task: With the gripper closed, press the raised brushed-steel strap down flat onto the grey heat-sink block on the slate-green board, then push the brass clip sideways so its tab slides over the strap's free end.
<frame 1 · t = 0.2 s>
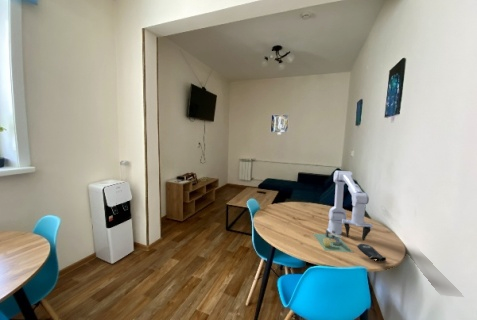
hand: (355, 238, 110), 10 cm above the table, fingers open, 7 cm apart
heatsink: (334, 244, 122), resting on board
strap: (334, 234, 123), point 6 cm above the table, hinge at 18.0°
electronic device: (369, 254, 114), on the table
clip: (329, 242, 117), point 3 cm above the table, slide at 0.0 cm, touching board
board: (331, 244, 122), on the table
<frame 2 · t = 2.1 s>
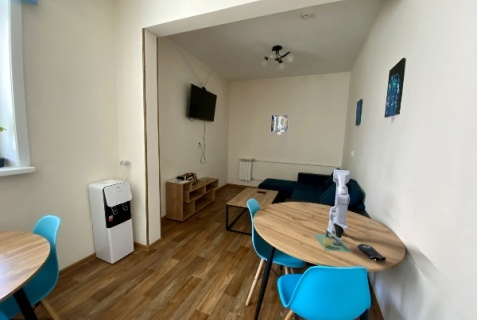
hand: (338, 236, 118), 7 cm above the table, fingers closed
strap: (334, 235, 122), point 5 cm above the table, hinge at 13.0°, touching gripper
everything else where it was.
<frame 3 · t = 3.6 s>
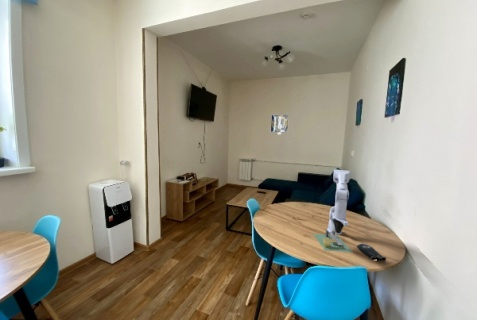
hand: (337, 232, 118), 9 cm above the table, fingers closed
strap: (334, 238, 122), point 4 cm above the table, hinge at 0.5°
everything else where it was.
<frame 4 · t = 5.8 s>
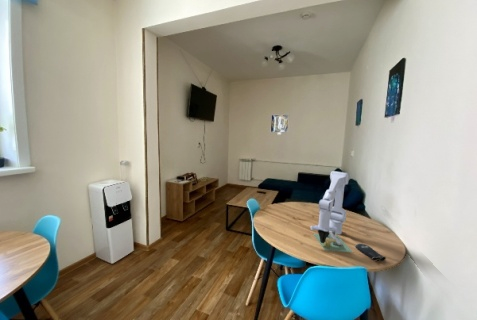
hand: (322, 242, 117), 3 cm above the table, fingers closed
clip: (329, 242, 117), point 3 cm above the table, slide at 0.1 cm, touching board, gripper
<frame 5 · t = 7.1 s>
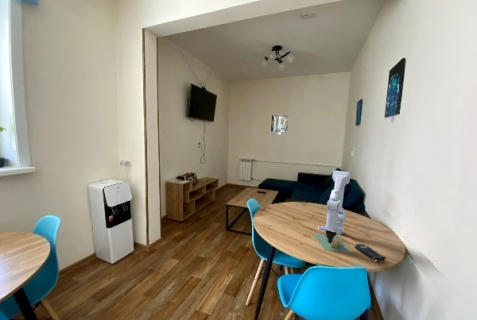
hand: (329, 242, 117), 3 cm above the table, fingers closed
clip: (336, 243, 117), point 3 cm above the table, slide at 4.1 cm, touching board, gripper
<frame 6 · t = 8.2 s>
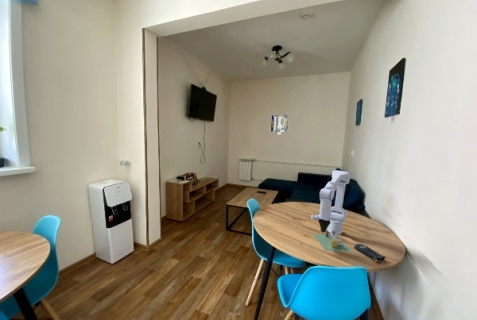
hand: (322, 231, 116), 10 cm above the table, fingers closed
clip: (336, 243, 117), point 3 cm above the table, slide at 4.0 cm, touching board
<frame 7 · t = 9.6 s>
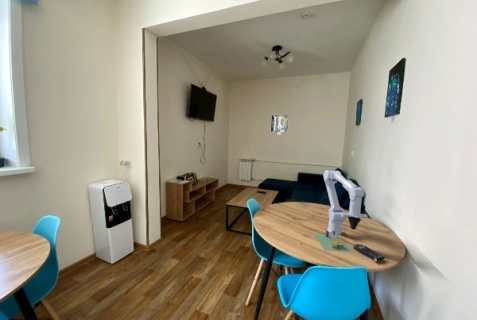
hand: (352, 228, 121), 10 cm above the table, fingers closed
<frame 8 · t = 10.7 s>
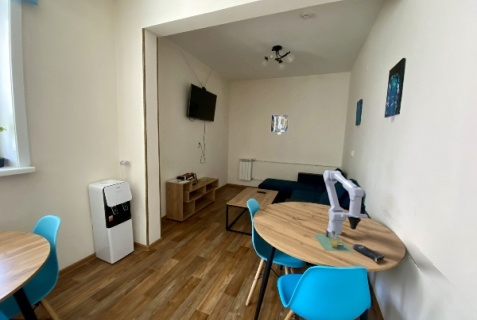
hand: (352, 228, 121), 10 cm above the table, fingers closed
at the end: strap at +0° (first picture: +18°); clip slide at 4.0 cm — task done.
